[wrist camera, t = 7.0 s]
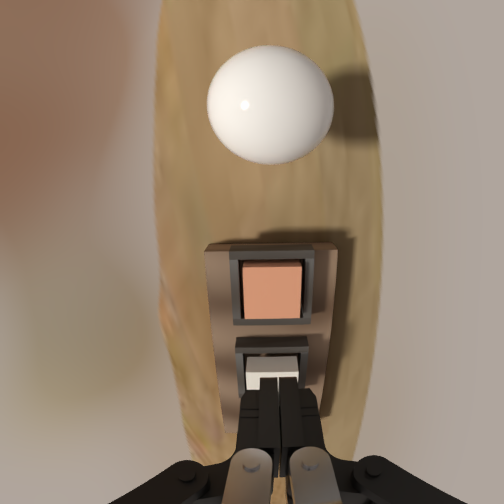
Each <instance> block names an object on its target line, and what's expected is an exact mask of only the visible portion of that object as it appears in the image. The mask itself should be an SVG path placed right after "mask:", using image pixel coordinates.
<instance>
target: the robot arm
mask: <svg viewBox="0 0 504 504" xmlns="http://www.w3.org/2000/svg"><path fill="white" fill-rule="evenodd" d="M278 470H280V477H286V490H285V497H286V504H467V503H465V502H463V501H460V500H459V499H457V498H455V497H453V496H451V495H448V494H447V493H445V492H443V491H441V490H439V489H437V488H435V487H433V486H432V485H430V484H428V483H426V482H424V481H423V480H421V479H419V478H417V477H416V476H414V475H412V474H410V473H409V472H407V471H405V470H404V469H402V468H400V467H398V466H397V465H395V464H394V463H392V462H390V461H389V460H387V459H386V458H384V457H381V456H376V455H372V456H367V457H364V458H362V459H361V460H359V461H358V462H355V461H347V460H341V459H338V458H336V457H334V456H332V455H331V454H330V453H329V452H328V451H327V450H326V448H325V444H324V439H323V432H322V427H321V421H320V416H319V409H318V403H317V398H316V396H315V394H314V393H313V392H312V390H311V389H310V388H302V389H298V382H297V377H279V386H278V377H260V390H246V392H245V393H244V394H243V396H242V397H241V401H240V412H239V422H238V432H237V442H236V450H235V452H234V454H233V455H232V456H231V457H230V458H229V459H228V460H226V461H224V462H222V463H219V464H214V465H209V466H203V465H201V464H200V463H198V462H195V461H191V460H184V461H179V462H177V463H175V464H173V465H172V466H170V467H169V468H167V469H166V470H164V471H163V472H161V473H159V474H158V475H156V476H155V477H153V478H152V479H150V480H148V481H147V482H145V483H144V484H142V485H140V486H139V487H137V488H135V489H134V490H132V491H130V492H129V493H127V494H125V495H123V496H121V497H120V498H118V499H116V500H114V501H112V502H111V503H109V504H270V499H271V494H272V492H273V482H274V477H278Z"/></svg>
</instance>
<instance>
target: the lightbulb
mask: <svg viewBox="0 0 504 504" xmlns="http://www.w3.org/2000/svg"><path fill="white" fill-rule="evenodd" d="M207 112H208V118H209V121H210V124H211V127H212V129H213V131H214V133H215V134H216V136H217V137H218V139H219V140H220V141H221V142H222V144H223V145H224V146H225V147H226V148H227V149H229V150H230V151H231V152H233V153H234V154H235V155H237V156H239V157H241V158H243V159H245V160H248V161H250V162H254V163H258V164H265V165H278V164H285V163H289V162H292V161H295V160H298V159H300V158H302V157H304V156H306V155H307V154H309V153H310V152H311V151H313V150H314V149H315V148H316V147H317V146H318V145H319V144H320V143H321V142H322V140H323V139H324V138H325V136H326V135H327V133H328V131H329V129H330V126H331V123H332V120H333V115H334V97H333V92H332V89H331V86H330V83H329V81H328V79H327V77H326V76H325V74H324V72H323V71H322V70H321V69H320V67H319V66H318V65H317V64H316V63H315V62H314V61H313V60H311V59H310V58H309V57H307V56H306V55H304V54H302V53H301V52H299V51H296V50H294V49H291V48H288V47H284V46H278V45H261V46H255V47H251V48H248V49H245V50H243V51H241V52H239V53H237V54H235V55H234V56H232V57H231V58H229V59H228V60H227V61H226V62H225V63H224V64H223V65H222V66H221V67H220V68H219V69H218V71H217V72H216V74H215V75H214V77H213V79H212V81H211V84H210V87H209V90H208V96H207Z"/></svg>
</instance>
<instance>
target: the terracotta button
mask: <svg viewBox="0 0 504 504" xmlns="http://www.w3.org/2000/svg"><path fill="white" fill-rule="evenodd" d="M301 275H302V266H301V263H300V260H299V259H253V260H244V262H243V291H244V313H245V319H281V318H300V301H301Z"/></svg>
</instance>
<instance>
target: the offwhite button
mask: <svg viewBox="0 0 504 504" xmlns="http://www.w3.org/2000/svg"><path fill="white" fill-rule="evenodd" d="M298 374H299V370H298V363H297V356H283V357H247V365H246V385H247V390H260V377H278V386H279V377H297V382H298Z"/></svg>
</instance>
